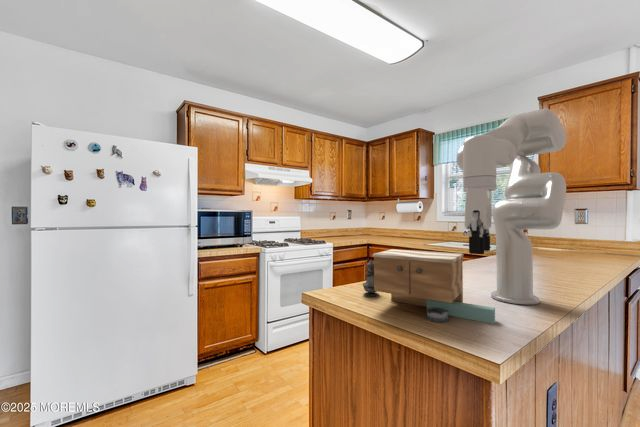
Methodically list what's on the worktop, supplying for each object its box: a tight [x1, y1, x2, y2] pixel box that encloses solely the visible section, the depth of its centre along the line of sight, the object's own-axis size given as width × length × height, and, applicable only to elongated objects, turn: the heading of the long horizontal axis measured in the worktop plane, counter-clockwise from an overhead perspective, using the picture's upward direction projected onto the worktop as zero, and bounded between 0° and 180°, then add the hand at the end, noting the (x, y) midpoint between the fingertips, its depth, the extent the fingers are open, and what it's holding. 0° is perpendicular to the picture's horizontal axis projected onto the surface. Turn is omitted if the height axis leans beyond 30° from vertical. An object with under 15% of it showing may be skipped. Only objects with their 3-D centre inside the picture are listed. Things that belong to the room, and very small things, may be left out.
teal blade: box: [426, 299, 496, 325], centre depth 77 cm, size 2×16×4 cm, turn 54°
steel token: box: [426, 308, 449, 324], centre depth 74 cm, size 5×5×2 cm
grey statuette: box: [362, 259, 380, 298], centre depth 98 cm, size 6×6×12 cm
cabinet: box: [372, 248, 465, 308], centre depth 81 cm, size 15×21×16 cm
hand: (480, 252), depth 74 cm, fingers open, 9 cm apart
